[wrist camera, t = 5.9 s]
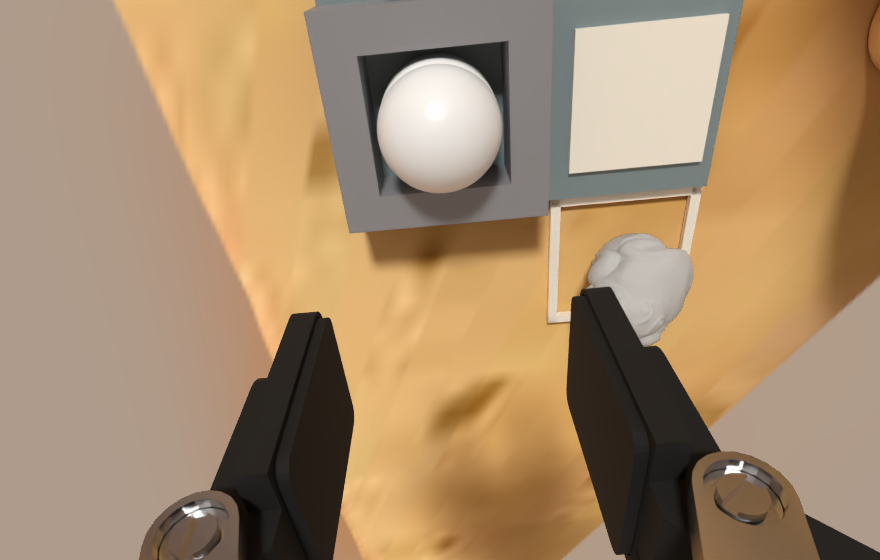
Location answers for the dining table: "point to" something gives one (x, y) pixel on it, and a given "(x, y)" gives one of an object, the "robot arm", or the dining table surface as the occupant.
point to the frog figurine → (644, 281)
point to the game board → (534, 104)
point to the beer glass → (875, 39)
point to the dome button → (439, 123)
